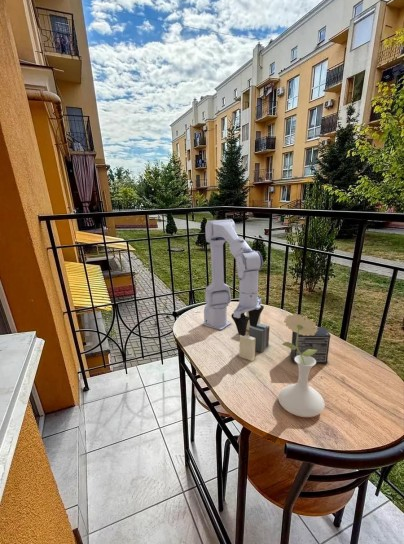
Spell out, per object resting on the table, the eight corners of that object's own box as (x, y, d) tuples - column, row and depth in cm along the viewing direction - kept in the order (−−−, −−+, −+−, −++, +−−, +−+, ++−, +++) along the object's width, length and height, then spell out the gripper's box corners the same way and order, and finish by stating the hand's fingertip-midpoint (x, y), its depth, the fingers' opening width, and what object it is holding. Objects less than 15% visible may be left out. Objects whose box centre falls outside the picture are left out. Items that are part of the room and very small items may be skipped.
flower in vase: (333, 409, 71) (347, 320, 62) (303, 429, 66) (314, 334, 57) (293, 383, 82) (300, 303, 73) (264, 398, 76) (268, 314, 67)
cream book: (239, 356, 96) (239, 336, 93) (241, 354, 98) (242, 333, 95) (252, 361, 93) (252, 340, 90) (254, 358, 95) (255, 337, 92)
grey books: (248, 348, 101) (249, 326, 98) (256, 342, 105) (257, 320, 102) (261, 352, 98) (262, 329, 95) (268, 345, 102) (269, 323, 99)
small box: (321, 353, 96) (325, 326, 92) (327, 364, 90) (331, 335, 86) (290, 353, 97) (292, 325, 93) (293, 363, 91) (296, 335, 87)
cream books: (246, 329, 115) (246, 311, 112) (251, 325, 119) (252, 307, 116) (254, 331, 113) (254, 313, 110) (260, 327, 117) (260, 309, 114)
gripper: (248, 300, 79) (247, 342, 84) (270, 287, 90) (268, 325, 95) (227, 296, 83) (227, 336, 88) (251, 283, 94) (250, 320, 99)
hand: (247, 330), depth 92 cm, fingers open, 7 cm apart
